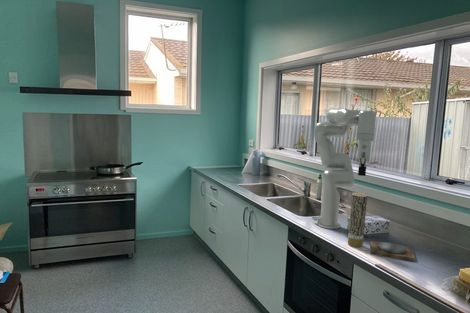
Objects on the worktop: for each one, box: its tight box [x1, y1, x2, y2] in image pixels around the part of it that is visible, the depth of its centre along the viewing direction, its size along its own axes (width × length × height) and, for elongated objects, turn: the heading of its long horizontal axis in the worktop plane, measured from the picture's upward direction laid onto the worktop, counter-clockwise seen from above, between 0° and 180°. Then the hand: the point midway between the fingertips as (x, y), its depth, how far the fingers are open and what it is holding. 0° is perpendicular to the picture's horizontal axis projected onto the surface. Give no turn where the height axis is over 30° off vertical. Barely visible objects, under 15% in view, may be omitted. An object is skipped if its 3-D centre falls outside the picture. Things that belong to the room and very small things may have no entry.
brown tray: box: [370, 240, 416, 263], centre depth 166 cm, size 18×15×2 cm
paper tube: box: [347, 191, 368, 248], centre depth 172 cm, size 7×7×25 cm
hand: (361, 174), depth 169 cm, fingers open, 9 cm apart
